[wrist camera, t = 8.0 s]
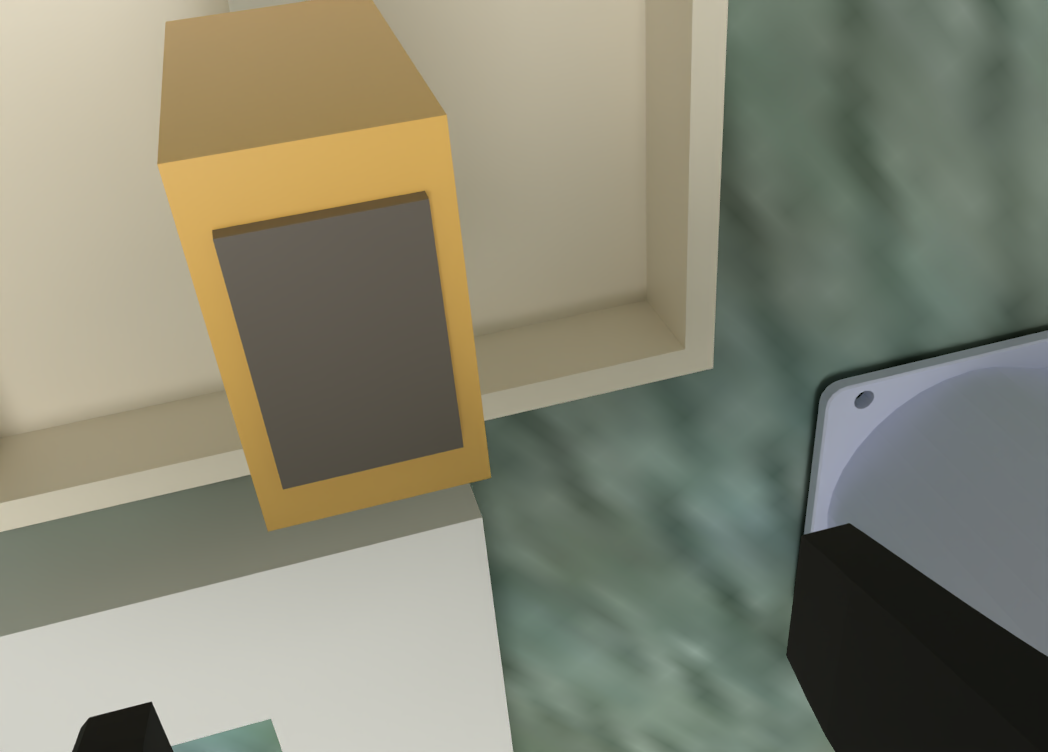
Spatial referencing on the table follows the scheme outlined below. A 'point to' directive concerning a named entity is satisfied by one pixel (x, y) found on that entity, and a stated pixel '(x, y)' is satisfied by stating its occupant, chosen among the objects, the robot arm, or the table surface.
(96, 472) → the parts tray
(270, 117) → the fuse
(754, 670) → the table surface
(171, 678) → the fuse block
